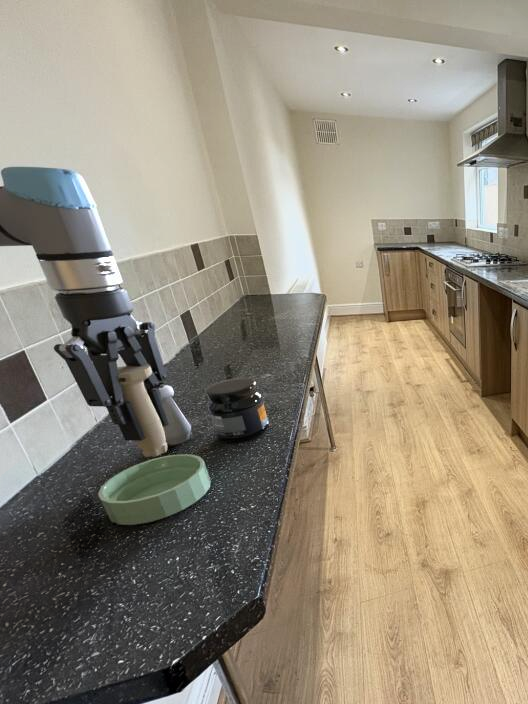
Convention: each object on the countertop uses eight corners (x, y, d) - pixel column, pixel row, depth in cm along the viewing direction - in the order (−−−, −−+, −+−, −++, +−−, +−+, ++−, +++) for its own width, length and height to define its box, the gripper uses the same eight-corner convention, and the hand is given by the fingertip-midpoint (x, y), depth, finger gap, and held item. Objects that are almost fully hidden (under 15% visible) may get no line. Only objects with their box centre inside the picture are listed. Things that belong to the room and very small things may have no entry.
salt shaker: (191, 431, 96) (173, 380, 91) (196, 440, 92) (178, 387, 87) (160, 440, 92) (139, 387, 87) (163, 450, 88) (142, 395, 83)
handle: (133, 452, 69) (98, 370, 64) (180, 441, 73) (151, 362, 67) (129, 465, 66) (91, 379, 60) (179, 453, 69) (148, 370, 63)
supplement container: (274, 419, 101) (262, 374, 97) (265, 440, 92) (251, 391, 87) (225, 426, 98) (210, 379, 94) (210, 448, 89) (194, 398, 84)
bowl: (86, 526, 67) (73, 501, 65) (159, 475, 80) (150, 453, 78) (168, 529, 66) (158, 504, 64) (229, 477, 79) (222, 455, 77)
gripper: (50, 301, 50) (121, 461, 60) (164, 280, 66) (207, 409, 75) (-7, 301, 51) (73, 460, 60) (120, 280, 67) (168, 408, 76)
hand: (147, 431), depth 68 cm, fingers closed on handle, 4 cm apart
